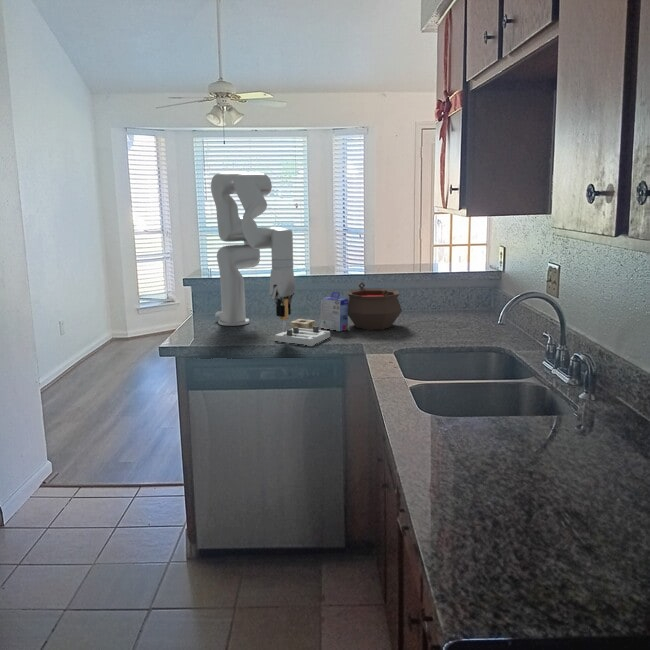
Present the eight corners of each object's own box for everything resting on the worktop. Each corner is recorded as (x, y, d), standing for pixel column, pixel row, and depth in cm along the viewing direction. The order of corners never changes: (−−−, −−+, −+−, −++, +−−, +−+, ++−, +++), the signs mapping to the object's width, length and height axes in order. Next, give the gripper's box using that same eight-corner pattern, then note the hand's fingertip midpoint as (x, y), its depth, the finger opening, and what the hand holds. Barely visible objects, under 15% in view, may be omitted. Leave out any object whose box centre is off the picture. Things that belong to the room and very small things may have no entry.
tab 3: (309, 333, 240) (309, 326, 240) (312, 332, 242) (312, 325, 241) (319, 334, 238) (319, 327, 238) (321, 333, 240) (321, 326, 239)
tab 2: (289, 334, 239) (289, 327, 238) (292, 333, 241) (292, 326, 240) (299, 335, 237) (299, 328, 237) (302, 334, 239) (302, 327, 238)
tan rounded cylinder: (278, 332, 235) (277, 299, 232) (282, 330, 238) (282, 298, 235) (285, 333, 233) (284, 300, 231) (290, 331, 236) (289, 298, 234)
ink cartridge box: (348, 329, 254) (348, 292, 251) (340, 332, 250) (340, 294, 247) (328, 326, 260) (328, 290, 257) (320, 328, 256) (319, 292, 253)
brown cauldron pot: (414, 329, 254) (415, 287, 250) (357, 335, 245) (357, 291, 242) (386, 318, 276) (386, 279, 272) (333, 322, 267) (333, 283, 263)
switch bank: (275, 341, 235) (274, 334, 235) (295, 333, 247) (294, 327, 247) (311, 346, 228) (311, 338, 228) (330, 338, 240) (330, 330, 240)
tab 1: (283, 337, 235) (283, 329, 234) (286, 336, 237) (286, 328, 236) (292, 338, 233) (292, 330, 233) (295, 337, 235) (295, 329, 234)
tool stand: (290, 332, 250) (290, 322, 249) (299, 328, 256) (299, 318, 255) (306, 334, 247) (306, 323, 246) (315, 330, 253) (315, 320, 252)
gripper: (285, 261, 239) (286, 310, 243) (260, 266, 225) (262, 318, 229) (303, 262, 236) (304, 312, 240) (279, 267, 222) (280, 320, 226)
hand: (283, 314), depth 234 cm, fingers closed on tan rounded cylinder, 3 cm apart
